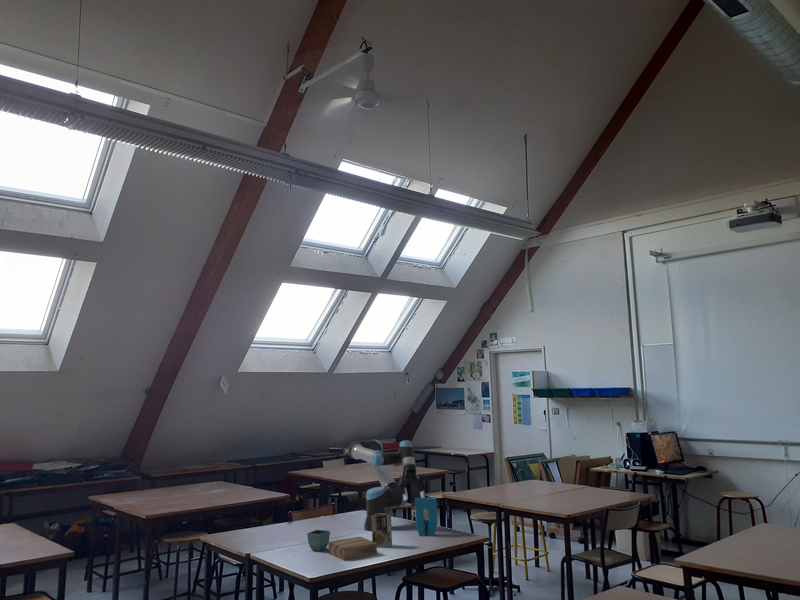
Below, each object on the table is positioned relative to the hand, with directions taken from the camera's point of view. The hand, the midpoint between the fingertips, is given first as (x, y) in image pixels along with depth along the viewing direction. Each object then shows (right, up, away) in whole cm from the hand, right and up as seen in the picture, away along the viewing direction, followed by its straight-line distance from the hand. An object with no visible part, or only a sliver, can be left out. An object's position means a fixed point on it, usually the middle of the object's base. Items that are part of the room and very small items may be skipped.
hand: (414, 501), depth 339 cm
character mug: (+4, -20, +8) cm, 22 cm away
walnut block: (-32, -12, -43) cm, 55 cm away
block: (+7, -18, -5) cm, 19 cm away
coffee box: (-18, -14, -28) cm, 36 cm away
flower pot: (-51, -15, -32) cm, 62 cm away
